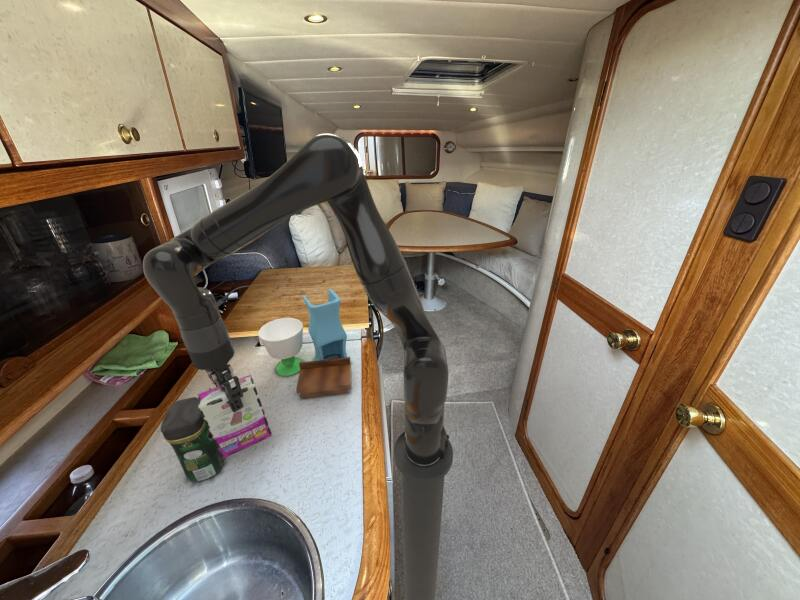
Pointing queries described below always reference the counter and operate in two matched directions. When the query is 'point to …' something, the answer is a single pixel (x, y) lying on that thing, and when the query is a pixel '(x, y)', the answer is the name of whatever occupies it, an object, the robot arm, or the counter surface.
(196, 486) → the counter surface
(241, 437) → the candy bar box
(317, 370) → the wooden serving tray
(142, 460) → the counter surface
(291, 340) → the cup
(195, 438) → the coffee jar
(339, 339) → the blue forked stand
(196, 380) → the counter surface
